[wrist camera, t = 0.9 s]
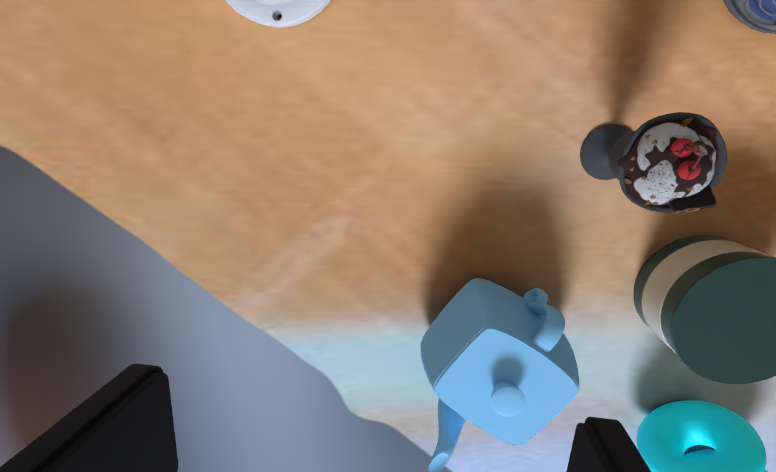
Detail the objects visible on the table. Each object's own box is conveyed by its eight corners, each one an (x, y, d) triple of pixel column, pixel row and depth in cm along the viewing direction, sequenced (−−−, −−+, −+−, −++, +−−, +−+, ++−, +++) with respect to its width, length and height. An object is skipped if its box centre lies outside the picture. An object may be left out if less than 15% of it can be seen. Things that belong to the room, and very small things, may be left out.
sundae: (579, 110, 36) (680, 103, 21) (657, 119, 35) (812, 119, 21) (561, 183, 37) (641, 221, 23) (634, 193, 37) (762, 238, 23)
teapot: (387, 366, 45) (372, 444, 34) (487, 243, 40) (507, 289, 29) (475, 423, 46) (488, 518, 35) (584, 311, 41) (640, 380, 30)
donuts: (709, 380, 41) (792, 458, 32) (743, 451, 43) (831, 544, 34) (615, 415, 44) (666, 498, 34) (651, 481, 45) (709, 577, 36)
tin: (642, 231, 38) (687, 254, 31) (773, 235, 37) (848, 260, 30) (622, 337, 41) (659, 379, 34) (741, 344, 40) (804, 388, 33)
